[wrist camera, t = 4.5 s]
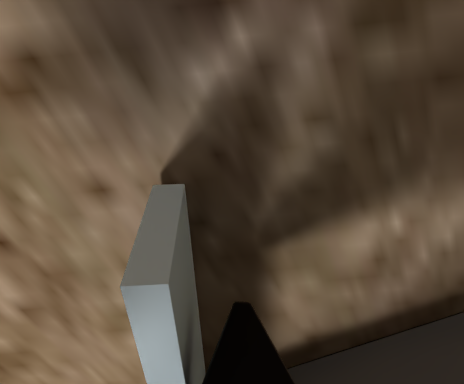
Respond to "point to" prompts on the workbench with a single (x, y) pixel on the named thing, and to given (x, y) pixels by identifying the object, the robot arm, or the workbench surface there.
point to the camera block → (395, 359)
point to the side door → (165, 291)
